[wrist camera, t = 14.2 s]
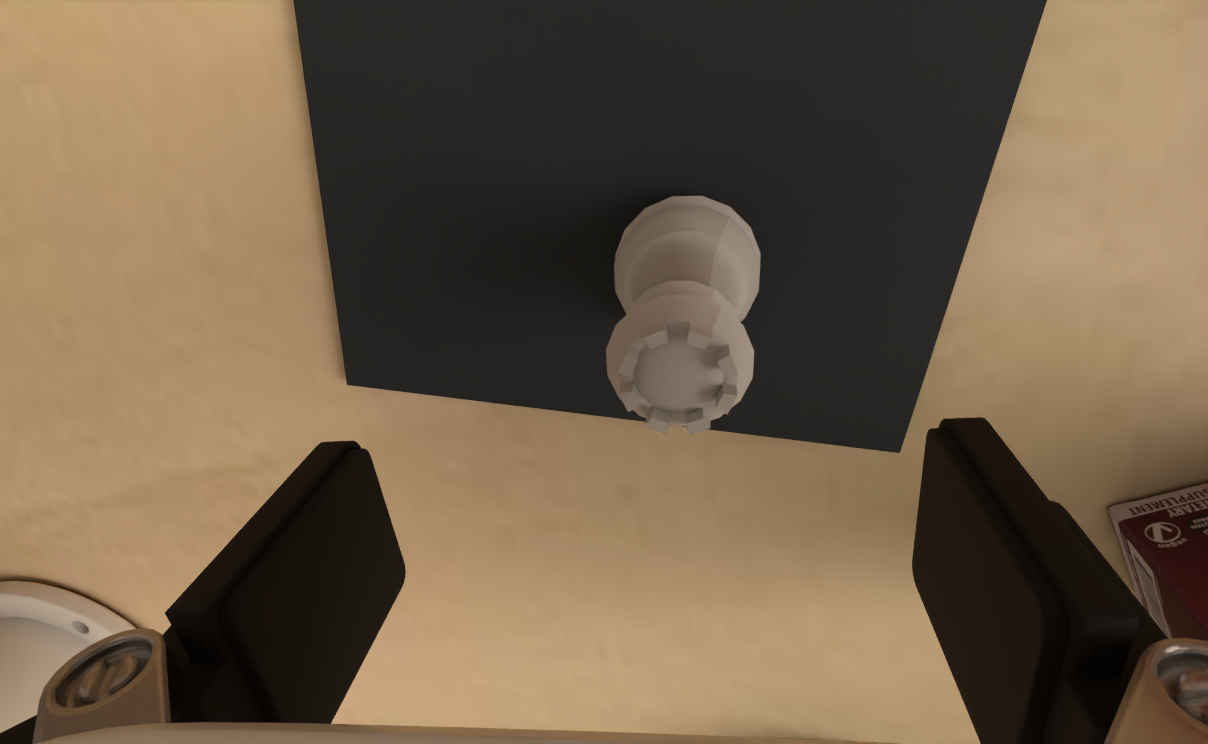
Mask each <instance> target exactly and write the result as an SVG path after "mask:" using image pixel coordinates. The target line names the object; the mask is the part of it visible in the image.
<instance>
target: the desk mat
mask: <svg viewBox="0 0 1208 744" xmlns="http://www.w3.org/2000/svg"><path fill="white" fill-rule="evenodd" d="M1046 1H1047V0H294V7H295V14H296V21H297V29H298V36H299V43H300V50H301V57H302V64H303V72H304V79H305V86H306V93H307V100H308V107H309V115H310V122H311V129H312V136H313V143H314V150H315V158H316V165H317V172H318V179H319V186H320V193H321V201H322V208H323V215H324V222H325V229H326V236H327V244H328V251H329V258H330V265H331V272H332V279H333V287H334V294H335V301H336V308H337V315H338V322H339V330H340V337H341V344H342V351H343V358H344V365H345V373H346V380H347V385H353V386H361V387H369V388H377V389H386V390H394V391H402V392H410V393H418V394H426V395H434V396H442V397H450V398H458V399H467V400H475V401H483V402H491V403H499V404H507V405H515V406H523V407H531V408H540V409H548V410H556V411H564V412H572V413H580V414H588V415H596V416H604V417H612V418H621V419H629V420H637V421H645V422H646V418H644V417H641V416H639V415H638V414H637V413H636V412H635V411H633V410H632V411H630V412H628V411H627V409H626V407H625V405H624V403H623V401H622V400H621V399H619V397H618V395H617V393H616V391H615V389H614V387H613V385H612V383H611V381H610V379H609V378H608V376H607V360H606V348H607V346H608V343H609V341H610V338H611V336H612V333H613V331H614V328H615V326H616V324H618V323H619V322H620V321H621V320H622V319H623V318H624V317H625V316H626V315H627V314H626V312H625V310H624V308H623V306H622V304H621V302H620V300H619V298H618V296H617V294H616V292H615V274H614V263H615V254H616V252H617V249H618V246H619V244H620V241H621V238H622V236H623V233H624V230H625V229H626V228H627V227H628V226H629V224H630V223H631V222H632V221H633V220H634V219H635V218H636V217H637V216H638V215H639V214H640V213H641V212H642V211H643V210H644V209H645V208H647V207H649V206H651V205H654V204H656V203H658V202H660V201H663V200H665V199H667V198H670V197H672V196H704V197H707V198H709V199H712V200H714V201H717V202H719V203H722V204H724V205H727V206H730V207H731V208H732V209H733V210H734V211H735V212H736V213H737V214H738V215H739V216H740V217H741V218H742V219H743V220H744V221H745V222H746V223H747V224H748V225H749V226H750V227H751V230H752V232H753V235H754V238H755V240H756V243H757V245H758V248H759V251H760V253H761V256H760V278H759V292H758V294H757V296H756V298H755V300H754V301H753V303H752V305H751V307H750V309H749V311H748V313H747V315H746V317H745V318H744V319H743V320H742V321H741V322H740V323H741V324H742V325H743V326H744V328H745V330H746V333H747V335H748V337H749V340H750V342H751V345H752V347H753V349H754V365H753V378H752V380H751V382H750V384H749V386H748V388H747V389H746V391H745V393H744V395H743V397H742V399H741V401H740V402H738V403H737V404H736V405H735V406H733V407H732V408H731V409H730V411H729V413H728V415H727V414H723V415H722V416H721V417H720V418H717V419H714V420H711V421H710V430H718V431H726V432H734V433H742V434H750V435H758V436H766V437H775V438H783V439H791V440H799V441H807V442H815V443H823V444H831V445H839V446H848V447H856V448H864V449H872V450H880V451H888V452H896V453H900V451H901V447H902V444H903V441H904V438H905V435H906V432H907V429H908V426H909V423H910V420H911V417H912V414H913V411H914V407H915V404H916V401H917V398H918V395H919V392H920V389H921V386H922V383H923V380H924V377H925V374H926V371H927V367H928V364H929V361H930V358H931V355H932V352H933V349H934V346H935V343H936V340H937V337H938V334H939V331H940V327H941V324H942V321H943V318H944V315H945V312H946V309H947V306H948V303H949V300H950V297H951V294H952V291H953V287H954V284H955V281H956V278H957V275H958V272H959V269H960V266H961V263H962V260H963V257H964V254H965V251H966V247H967V244H968V241H969V238H970V235H971V232H972V229H973V226H974V223H975V220H976V217H977V214H978V211H979V207H980V204H981V201H982V198H983V195H984V192H985V189H986V186H987V183H988V180H989V177H990V174H991V171H992V167H993V164H994V161H995V158H996V155H997V152H998V149H999V146H1000V143H1001V140H1002V137H1003V134H1004V131H1005V127H1006V124H1007V121H1008V118H1009V115H1010V112H1011V109H1012V106H1013V103H1014V100H1015V97H1016V94H1017V91H1018V87H1019V84H1020V81H1021V78H1022V75H1023V72H1024V69H1025V66H1026V63H1027V60H1028V57H1029V54H1030V51H1031V47H1032V44H1033V41H1034V38H1035V35H1036V32H1037V29H1038V26H1039V23H1040V20H1041V17H1042V14H1043V11H1044V7H1045V4H1046ZM685 427H687V426H685Z"/></svg>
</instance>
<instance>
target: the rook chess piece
mask: <svg viewBox="0 0 1208 744" xmlns="http://www.w3.org/2000/svg"><path fill="white" fill-rule="evenodd" d="M760 256H761V253H760V251H759V248H758V245H757V243H756V240H755V238H754V235H753V232H752V230H751V227H750V226H749V225H748V224H747V223H746V222H745V221H744V220H743V219H742V218H741V217H740V216H739V215H738V214H737V213H736V212H735V211H734V210H733V209H732V208H731V207H730V206H727V205H724V204H722V203H719V202H717V201H714V200H712V199H709V198H707V197H704V196H672V197H670V198H667V199H665V200H663V201H660V202H658V203H656V204H654V205H651V206H649V207H647V208H645V209H644V210H643V211H642V212H641V213H640V214H639V215H638V216H637V217H636V218H635V219H634V220H633V221H632V222H631V223H630V224H629V226H628V227H627V228H626V229H625V230H624V233H623V236H622V238H621V241H620V244H619V246H618V249H617V252H616V254H615V263H614V274H615V292H616V294H617V296H618V298H619V300H620V302H621V304H622V306H623V308H624V310H625V312H626V314H627V315H626V316H625V317H624V318H623V319H622V320H621V321H620V322H619V323H618V324H616V326H615V328H614V331H613V333H612V336H611V338H610V341H609V343H608V346H607V348H606V360H607V376H608V378H609V379H610V381H611V383H612V385H613V387H614V389H615V391H616V393H617V395H618V397H619V399H621V400H622V401H623V403H624V405H625V407H626V409H627V411H628V412H630V411H632V410H633V411H635V412H636V413H637V414H638V415H639V416H641V417H644V418H646V422H645V427H647V428H650V429H653V430H655V431H658V432H661V433H663V434H666V432H667V428H668V426H687V429H688V434H689V435H691V434H694V433H697V432H700V431H704V430H707V429H710V421H711V420H714V419H717V418H720V417H721V416H722V415H723V414H727V415H728V413H729V411H730V409H731V408H732V407H733V406H735V405H736V404H737V403H738V402H740V401H741V399H742V397H743V395H744V393H745V391H746V389H747V388H748V386H749V384H750V382H751V380H752V378H753V365H754V349H753V347H752V345H751V342H750V340H749V337H748V335H747V333H746V330H745V328H744V326H743V325H742V324H741V323H740V322H741V321H742V320H743V319H744V318H745V317H746V315H747V313H748V311H749V309H750V307H751V305H752V303H753V301H754V300H755V298H756V296H757V294H758V292H759V278H760Z"/></svg>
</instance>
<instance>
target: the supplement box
mask: <svg viewBox="0 0 1208 744" xmlns="http://www.w3.org/2000/svg"><path fill="white" fill-rule="evenodd" d="M1109 514H1110V517H1111V520H1112V522H1113V525H1114V528H1115V530H1116V533H1117V537H1118V540H1119V543H1120V546H1121V549H1122V552H1123V555H1124V559H1125V562H1126V566H1127V569H1128V572H1129V576H1130V579H1131V582H1132V585H1133V590H1134V595H1135V596H1136V598H1137V599H1138V601H1139V602H1140V603H1141V605H1142V606H1143V607H1144V608H1145V610H1146V611H1147V612H1148V613H1149V615H1150V616H1151V617H1152V618H1153V620H1154V621H1155V622H1156V623H1157V625H1158V626H1159V627H1160V628H1161V630H1162V631H1163V632H1164V633H1165V635H1166V636H1167V637H1168V639H1174V638H1190V639H1197V640H1203V641H1208V483H1205V484H1201V485H1198V486H1194V487H1190V488H1186V489H1182V490H1178V491H1174V492H1170V493H1166V494H1162V495H1157V496H1153V497H1149V498H1145V499H1142V500H1138V501H1132V502H1125V503H1121V504H1118V505H1114V506H1111V507H1110V508H1109Z"/></svg>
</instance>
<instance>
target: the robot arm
mask: <svg viewBox="0 0 1208 744" xmlns="http://www.w3.org/2000/svg"><path fill="white" fill-rule="evenodd" d="M912 570H913V577H914V581H915V584H916V587H917V590H918V592H919V594H920V597H921V599H922V602H923V604H924V607H925V609H926V611H927V614H928V616H929V619H930V621H931V624H932V626H933V628H934V631H935V633H936V636H937V638H938V641H939V643H940V645H941V648H942V650H943V653H944V655H945V658H946V660H947V662H948V665H949V667H950V670H951V672H952V675H953V677H954V679H955V682H956V684H957V687H958V689H959V692H960V694H961V696H962V699H963V701H964V704H965V706H966V709H967V711H968V713H969V716H970V718H971V721H972V723H973V726H974V728H975V730H976V733H977V735H978V738H979V740H980V743H981V744H1208V641H1203V640H1197V639H1190V638H1174V639H1168V637H1167V636H1166V635H1165V633H1164V632H1163V631H1162V630H1161V628H1160V627H1159V626H1158V625H1157V623H1156V622H1155V621H1154V620H1153V618H1152V617H1151V616H1150V615H1149V613H1148V612H1147V611H1146V610H1145V608H1144V607H1143V606H1142V605H1141V603H1140V602H1139V601H1138V600H1137V598H1136V597H1135V596H1134V594H1133V593H1132V592H1131V591H1130V589H1129V588H1128V587H1127V586H1126V584H1125V583H1124V582H1123V581H1122V579H1121V578H1120V577H1119V576H1118V574H1117V573H1116V572H1115V571H1114V569H1113V568H1112V567H1111V566H1110V564H1109V563H1108V562H1107V561H1106V559H1105V558H1104V557H1103V555H1102V554H1101V553H1100V552H1099V550H1098V549H1097V548H1096V547H1095V545H1094V544H1093V543H1092V542H1091V540H1090V539H1089V538H1088V537H1087V535H1086V534H1085V533H1084V532H1083V530H1082V529H1081V528H1080V527H1079V525H1078V524H1077V523H1076V521H1075V520H1074V519H1073V518H1072V516H1071V515H1070V514H1069V513H1068V511H1067V510H1066V509H1065V508H1064V507H1063V506H1062V505H1060V504H1059V503H1057V502H1054V501H1049V500H1048V498H1047V497H1046V496H1045V495H1044V493H1043V492H1042V491H1041V489H1040V488H1039V487H1038V485H1037V484H1036V483H1035V482H1034V480H1033V479H1032V478H1031V476H1030V475H1029V474H1028V473H1027V471H1026V470H1025V469H1024V467H1023V466H1022V465H1021V463H1020V462H1019V461H1018V460H1017V458H1016V457H1015V456H1014V454H1013V453H1012V452H1011V451H1010V449H1009V448H1008V447H1007V445H1006V444H1005V443H1004V442H1003V440H1002V439H1001V438H1000V436H999V435H998V434H997V432H996V431H995V430H994V429H993V427H992V426H991V425H990V423H989V422H988V421H987V420H986V419H985V418H981V417H980V418H953V419H943V420H942V421H941V423H940V425H939V428H931V429H929V430H928V433H927V437H926V445H925V454H924V462H923V471H922V480H921V489H920V497H919V506H918V515H917V524H916V532H915V541H914V550H913V559H912ZM404 580H405V564H404V560H403V557H402V554H401V551H400V548H399V545H398V541H397V538H396V535H395V532H394V529H393V526H392V522H391V519H390V516H389V513H388V510H387V507H386V503H385V500H384V497H383V494H382V491H381V488H380V484H379V481H378V478H377V475H376V472H375V468H374V465H373V462H372V459H371V456H370V454H369V452H368V451H367V450H366V449H361V447H360V445H359V444H358V443H357V442H355V441H335V442H322V443H320V444H319V445H317V446H316V447H315V449H314V450H313V451H312V452H311V453H310V454H309V455H308V456H307V457H306V458H305V460H304V461H303V462H302V463H301V464H300V465H299V466H298V467H297V468H296V469H295V471H294V472H293V473H292V474H291V475H290V476H289V477H288V478H287V479H286V480H285V482H284V483H283V484H282V485H281V486H280V487H279V488H278V489H277V490H276V491H275V493H274V494H273V495H272V496H271V497H270V498H269V499H268V500H267V501H266V502H265V504H264V505H263V506H262V507H261V508H260V509H259V510H258V511H257V512H256V513H255V514H254V516H253V517H252V518H251V519H250V520H249V521H248V522H247V523H246V524H245V525H244V527H243V528H242V529H241V530H240V531H239V532H238V533H237V534H236V535H235V536H234V538H233V539H232V540H231V541H230V542H229V543H228V544H227V545H226V546H225V547H224V549H223V550H222V551H221V552H220V553H219V554H218V555H217V556H216V557H215V558H214V560H213V561H212V562H211V563H210V564H209V565H208V566H207V567H206V568H205V569H204V571H203V572H202V573H201V574H200V575H199V576H198V577H197V578H196V579H195V580H194V581H193V583H192V584H191V585H190V586H189V587H188V588H187V589H186V590H185V591H184V592H183V594H182V595H181V596H180V597H179V598H178V599H177V600H176V601H175V602H174V603H173V605H172V606H171V607H170V608H169V609H168V610H167V611H166V612H165V614H166V616H167V618H168V620H169V621H170V623H171V626H170V627H169V628H168V630H167V631H166V632H165V633H164V634H163V635H162V634H160V633H158V632H157V631H155V630H153V629H143V628H139V629H137V628H136V627H135V626H133V625H132V624H131V623H129V622H128V621H127V620H125V619H124V618H122V617H121V616H119V615H117V614H116V613H114V612H112V611H111V610H109V609H108V608H106V607H104V606H102V605H100V604H98V603H96V602H94V601H92V600H90V599H88V598H86V597H84V596H81V595H78V594H76V593H73V592H70V591H67V590H64V589H61V588H58V587H54V586H50V585H45V584H41V583H35V582H24V581H6V582H0V744H895V743H877V742H858V741H836V740H810V739H783V738H757V737H731V736H704V735H678V734H650V733H620V732H590V731H560V730H528V729H496V728H464V727H428V726H390V725H351V724H331V722H332V720H333V718H334V716H335V715H336V713H337V711H338V709H339V707H340V705H341V703H342V701H343V699H344V697H345V695H346V693H347V692H348V690H349V688H350V686H351V684H352V682H353V680H354V678H355V676H356V674H357V672H358V671H359V669H360V667H361V665H362V663H363V661H364V659H365V657H366V655H367V653H368V651H369V649H370V648H371V646H372V644H373V642H374V640H375V638H376V636H377V634H378V632H379V630H380V628H381V627H382V625H383V623H384V621H385V619H386V617H387V615H388V613H389V611H390V609H391V607H392V605H393V604H394V602H395V600H396V598H397V596H398V594H399V592H400V590H401V588H402V586H403V584H404Z"/></svg>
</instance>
